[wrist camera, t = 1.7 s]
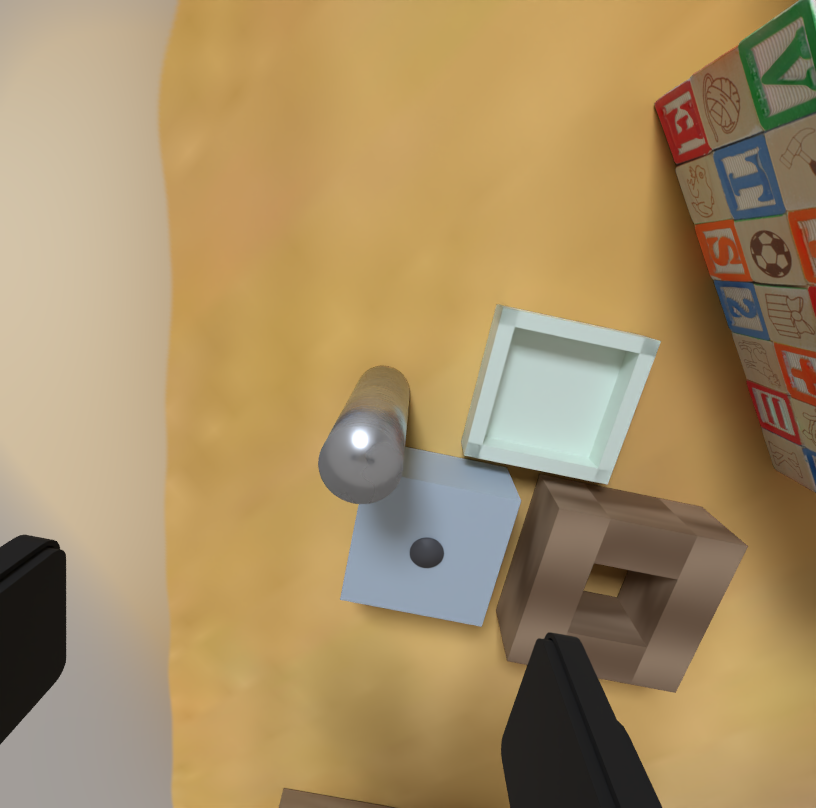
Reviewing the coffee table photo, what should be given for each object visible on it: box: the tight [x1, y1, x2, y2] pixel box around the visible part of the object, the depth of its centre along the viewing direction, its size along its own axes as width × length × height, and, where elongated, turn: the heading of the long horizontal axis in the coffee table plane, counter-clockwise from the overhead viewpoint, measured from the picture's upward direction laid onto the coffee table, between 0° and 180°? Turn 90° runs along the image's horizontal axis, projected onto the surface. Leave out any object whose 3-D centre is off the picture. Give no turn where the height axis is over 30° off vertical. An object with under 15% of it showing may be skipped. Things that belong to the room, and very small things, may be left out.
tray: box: [461, 304, 661, 485], centre depth 24 cm, size 8×8×2 cm
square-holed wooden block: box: [496, 474, 748, 693], centre depth 26 cm, size 10×10×4 cm
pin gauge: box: [318, 366, 410, 504], centre depth 21 cm, size 3×3×10 cm
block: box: [340, 447, 521, 627], centre depth 26 cm, size 8×8×4 cm
